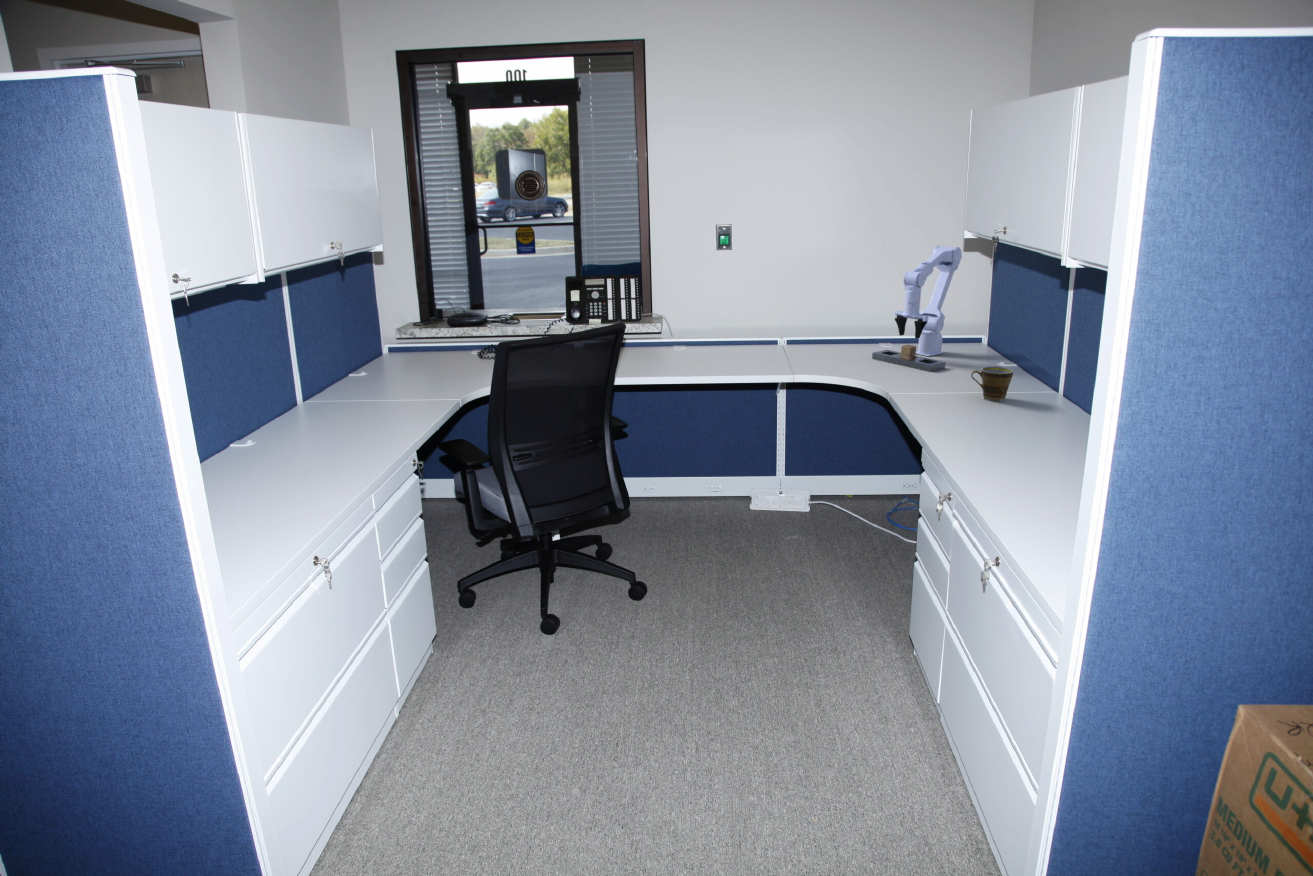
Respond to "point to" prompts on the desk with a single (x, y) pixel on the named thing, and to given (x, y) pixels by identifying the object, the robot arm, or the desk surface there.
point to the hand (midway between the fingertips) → (909, 336)
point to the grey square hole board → (909, 361)
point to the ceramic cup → (994, 382)
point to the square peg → (908, 351)
